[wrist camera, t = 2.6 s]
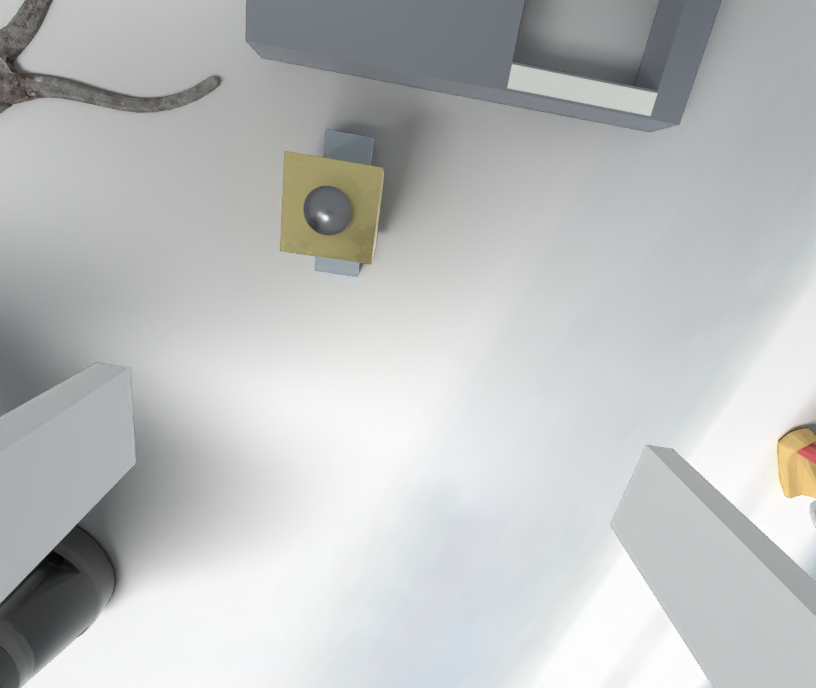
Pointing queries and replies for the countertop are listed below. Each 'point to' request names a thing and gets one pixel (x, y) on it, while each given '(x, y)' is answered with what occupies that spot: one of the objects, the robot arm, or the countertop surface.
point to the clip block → (330, 207)
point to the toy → (798, 465)
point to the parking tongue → (349, 151)
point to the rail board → (482, 53)
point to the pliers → (11, 87)
